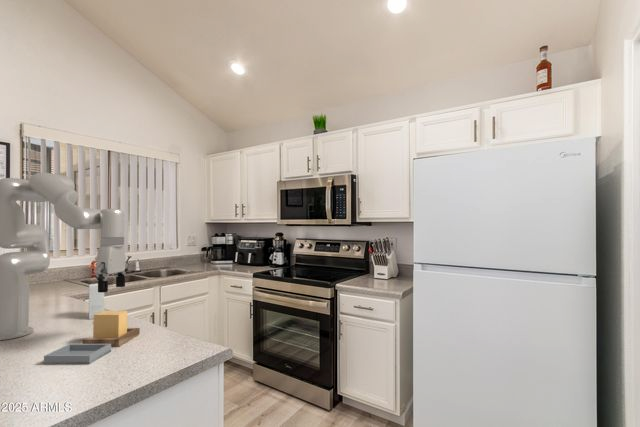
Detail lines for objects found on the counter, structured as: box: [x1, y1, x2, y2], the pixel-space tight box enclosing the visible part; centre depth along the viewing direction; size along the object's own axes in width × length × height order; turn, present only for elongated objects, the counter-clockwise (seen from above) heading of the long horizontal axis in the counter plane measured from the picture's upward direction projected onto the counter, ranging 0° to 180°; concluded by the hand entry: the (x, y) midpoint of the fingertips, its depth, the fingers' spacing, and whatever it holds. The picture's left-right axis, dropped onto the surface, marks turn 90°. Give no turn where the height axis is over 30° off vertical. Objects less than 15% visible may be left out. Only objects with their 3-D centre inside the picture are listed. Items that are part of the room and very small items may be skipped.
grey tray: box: [43, 343, 112, 365], centre depth 101 cm, size 14×10×2 cm
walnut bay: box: [82, 327, 141, 348], centre depth 116 cm, size 13×12×2 cm
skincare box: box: [88, 282, 105, 320], centre depth 148 cm, size 8×6×15 cm
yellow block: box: [92, 310, 128, 338], centre depth 116 cm, size 10×5×10 cm, turn 90°
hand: (112, 289), depth 117 cm, fingers open, 9 cm apart
